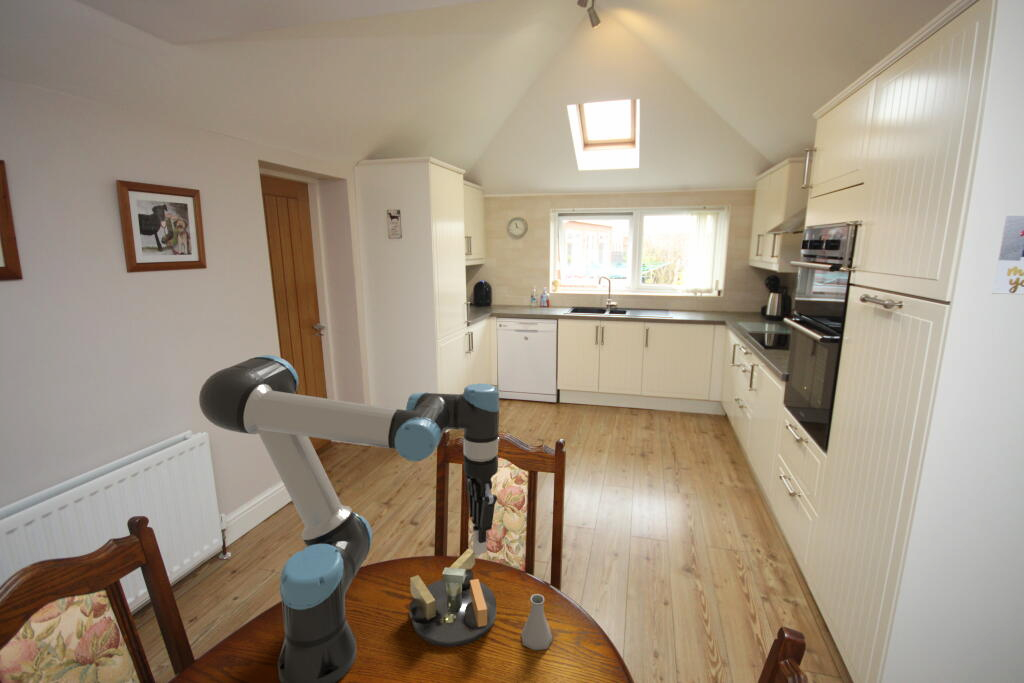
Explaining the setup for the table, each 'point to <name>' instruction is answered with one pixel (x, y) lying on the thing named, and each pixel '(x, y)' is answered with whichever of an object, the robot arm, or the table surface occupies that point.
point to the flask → (536, 626)
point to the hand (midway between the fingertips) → (479, 551)
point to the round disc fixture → (448, 605)
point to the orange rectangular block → (477, 608)
